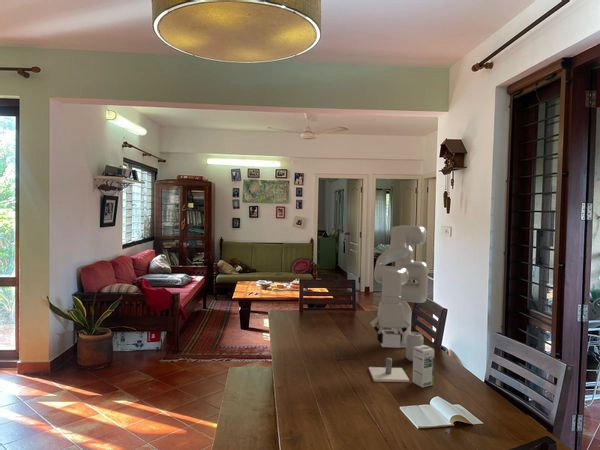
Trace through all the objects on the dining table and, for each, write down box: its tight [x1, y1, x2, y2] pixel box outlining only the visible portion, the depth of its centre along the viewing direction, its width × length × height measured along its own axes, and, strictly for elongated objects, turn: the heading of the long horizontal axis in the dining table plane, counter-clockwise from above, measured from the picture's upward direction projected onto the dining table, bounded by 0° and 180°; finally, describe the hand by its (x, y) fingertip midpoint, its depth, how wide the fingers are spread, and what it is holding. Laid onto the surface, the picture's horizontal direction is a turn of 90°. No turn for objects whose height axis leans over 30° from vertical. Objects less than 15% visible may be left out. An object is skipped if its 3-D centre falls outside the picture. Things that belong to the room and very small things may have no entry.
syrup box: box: [412, 344, 435, 388], centre depth 163 cm, size 6×6×14 cm
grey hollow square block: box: [380, 329, 401, 349], centre depth 169 cm, size 7×7×5 cm
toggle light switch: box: [368, 357, 410, 383], centre depth 170 cm, size 14×12×7 cm
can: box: [405, 331, 425, 362], centre depth 189 cm, size 8×8×12 cm
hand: (389, 342), depth 169 cm, fingers closed on grey hollow square block, 7 cm apart
